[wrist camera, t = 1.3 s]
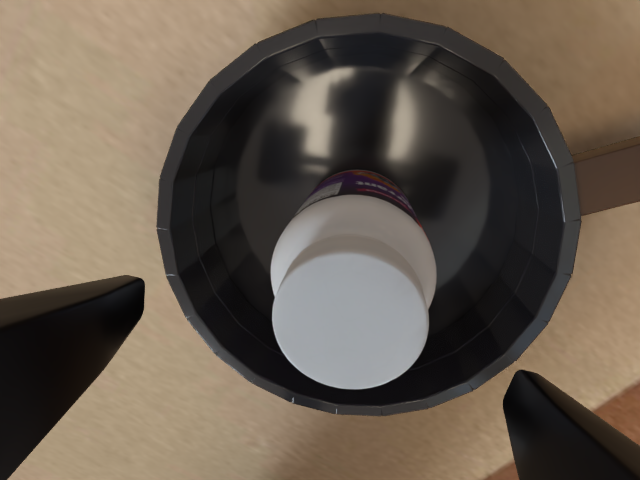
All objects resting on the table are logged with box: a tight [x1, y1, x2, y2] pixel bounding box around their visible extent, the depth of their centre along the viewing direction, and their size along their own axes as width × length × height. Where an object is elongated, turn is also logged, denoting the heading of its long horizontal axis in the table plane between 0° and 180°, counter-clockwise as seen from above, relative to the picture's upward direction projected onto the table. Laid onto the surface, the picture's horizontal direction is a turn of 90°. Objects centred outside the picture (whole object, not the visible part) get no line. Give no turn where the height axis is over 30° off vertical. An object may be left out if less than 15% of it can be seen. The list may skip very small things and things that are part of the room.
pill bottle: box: [271, 170, 437, 389], centre depth 14 cm, size 5×5×10 cm
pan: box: [157, 13, 581, 416], centre depth 17 cm, size 16×16×4 cm
